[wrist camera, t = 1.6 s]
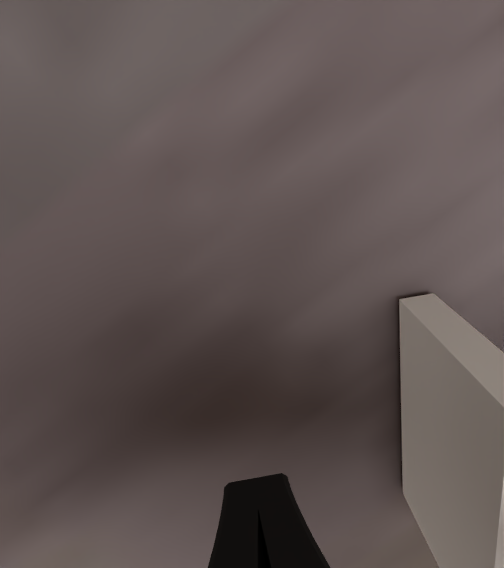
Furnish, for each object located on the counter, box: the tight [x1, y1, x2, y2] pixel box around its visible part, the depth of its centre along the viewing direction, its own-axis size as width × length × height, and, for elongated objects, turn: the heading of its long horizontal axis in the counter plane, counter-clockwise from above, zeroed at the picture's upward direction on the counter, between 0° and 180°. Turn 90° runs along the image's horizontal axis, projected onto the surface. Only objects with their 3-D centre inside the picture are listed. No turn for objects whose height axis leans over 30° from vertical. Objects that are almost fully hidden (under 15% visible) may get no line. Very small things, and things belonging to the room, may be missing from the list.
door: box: [399, 293, 504, 568], centre depth 12 cm, size 1×8×5 cm, turn 8°
